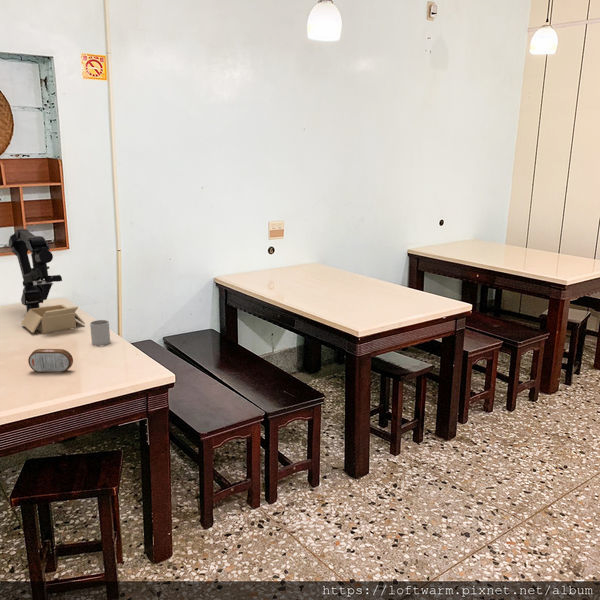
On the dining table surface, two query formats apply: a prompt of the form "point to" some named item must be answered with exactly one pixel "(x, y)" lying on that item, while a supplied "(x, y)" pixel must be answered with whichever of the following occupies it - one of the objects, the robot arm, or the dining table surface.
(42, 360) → the tin
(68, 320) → the carton
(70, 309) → the flap
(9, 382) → the dining table surface
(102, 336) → the cup
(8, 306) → the dining table surface
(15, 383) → the dining table surface
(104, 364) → the dining table surface
